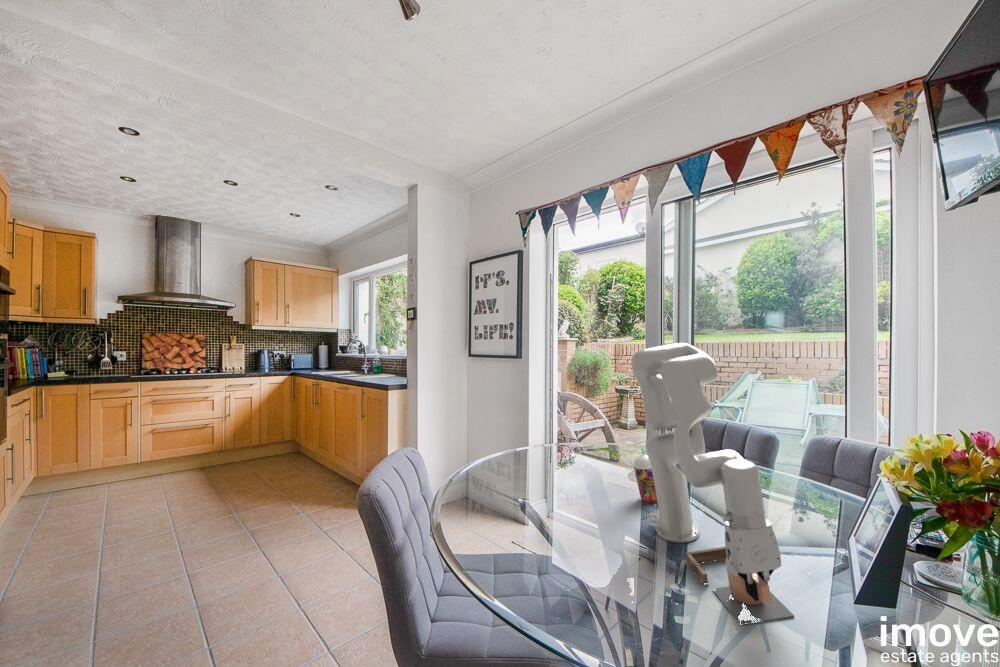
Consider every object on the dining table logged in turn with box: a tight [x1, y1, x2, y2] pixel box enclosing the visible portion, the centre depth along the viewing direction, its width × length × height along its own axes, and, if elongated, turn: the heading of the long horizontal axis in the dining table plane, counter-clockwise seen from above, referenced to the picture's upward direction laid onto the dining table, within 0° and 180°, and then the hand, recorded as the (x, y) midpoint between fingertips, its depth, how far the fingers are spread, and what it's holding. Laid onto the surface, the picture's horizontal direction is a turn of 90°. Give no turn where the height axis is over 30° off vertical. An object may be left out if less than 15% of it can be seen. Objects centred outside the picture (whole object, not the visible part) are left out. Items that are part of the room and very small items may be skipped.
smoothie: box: [632, 447, 657, 504], centre depth 155 cm, size 8×8×20 cm
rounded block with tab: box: [725, 557, 772, 605], centre depth 96 cm, size 12×7×8 cm, turn 0°
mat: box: [713, 585, 795, 624], centre depth 97 cm, size 12×12×1 cm
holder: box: [685, 546, 727, 584], centre depth 110 cm, size 10×14×3 cm
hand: (758, 595), depth 94 cm, fingers closed on rounded block with tab, 1 cm apart
